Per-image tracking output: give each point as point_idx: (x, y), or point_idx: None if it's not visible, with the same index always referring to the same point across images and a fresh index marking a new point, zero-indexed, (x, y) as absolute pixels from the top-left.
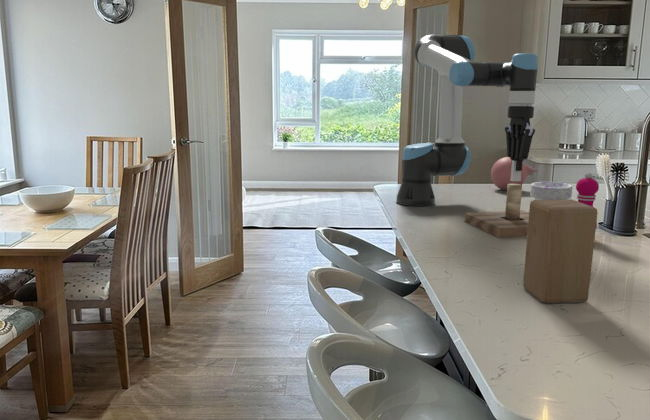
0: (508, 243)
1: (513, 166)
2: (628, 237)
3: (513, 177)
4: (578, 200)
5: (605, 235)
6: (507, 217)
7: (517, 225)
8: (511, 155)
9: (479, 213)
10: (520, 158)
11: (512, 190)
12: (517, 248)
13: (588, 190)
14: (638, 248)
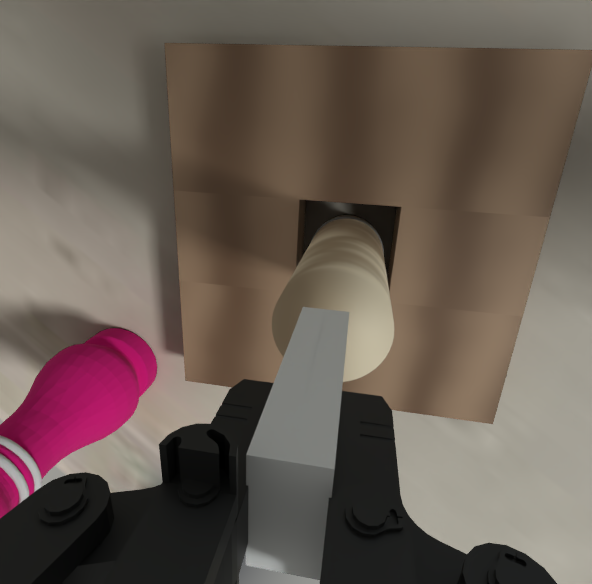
0: (94, 35)
1: (286, 392)
2: None
3: (297, 324)
4: (13, 437)
5: None
6: (338, 218)
7: (201, 175)
8: (377, 572)
9: (532, 146)
10: (53, 483)
11: (300, 269)
12: (19, 25)
13: None
14: None
